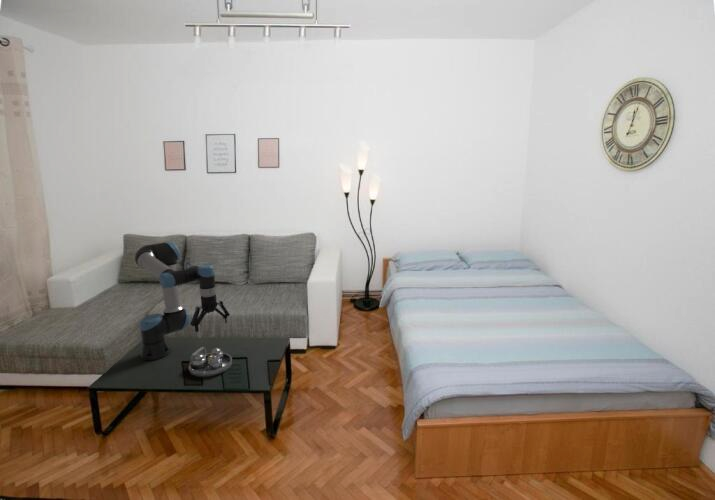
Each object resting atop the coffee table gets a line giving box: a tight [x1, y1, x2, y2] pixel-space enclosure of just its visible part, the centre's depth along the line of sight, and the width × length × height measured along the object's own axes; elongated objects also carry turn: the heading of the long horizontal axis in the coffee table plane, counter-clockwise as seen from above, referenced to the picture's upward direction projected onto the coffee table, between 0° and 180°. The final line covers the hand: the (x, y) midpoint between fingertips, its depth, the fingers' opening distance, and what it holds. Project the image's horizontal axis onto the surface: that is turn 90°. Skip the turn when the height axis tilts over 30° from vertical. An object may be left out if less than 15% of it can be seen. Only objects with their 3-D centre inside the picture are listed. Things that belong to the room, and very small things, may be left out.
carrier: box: [188, 347, 233, 378], centre depth 216 cm, size 22×22×8 cm
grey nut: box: [208, 356, 222, 371], centre depth 212 cm, size 7×7×6 cm
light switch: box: [190, 346, 207, 367], centre depth 220 cm, size 2×12×8 cm, turn 168°
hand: (212, 333), depth 209 cm, fingers open, 13 cm apart
